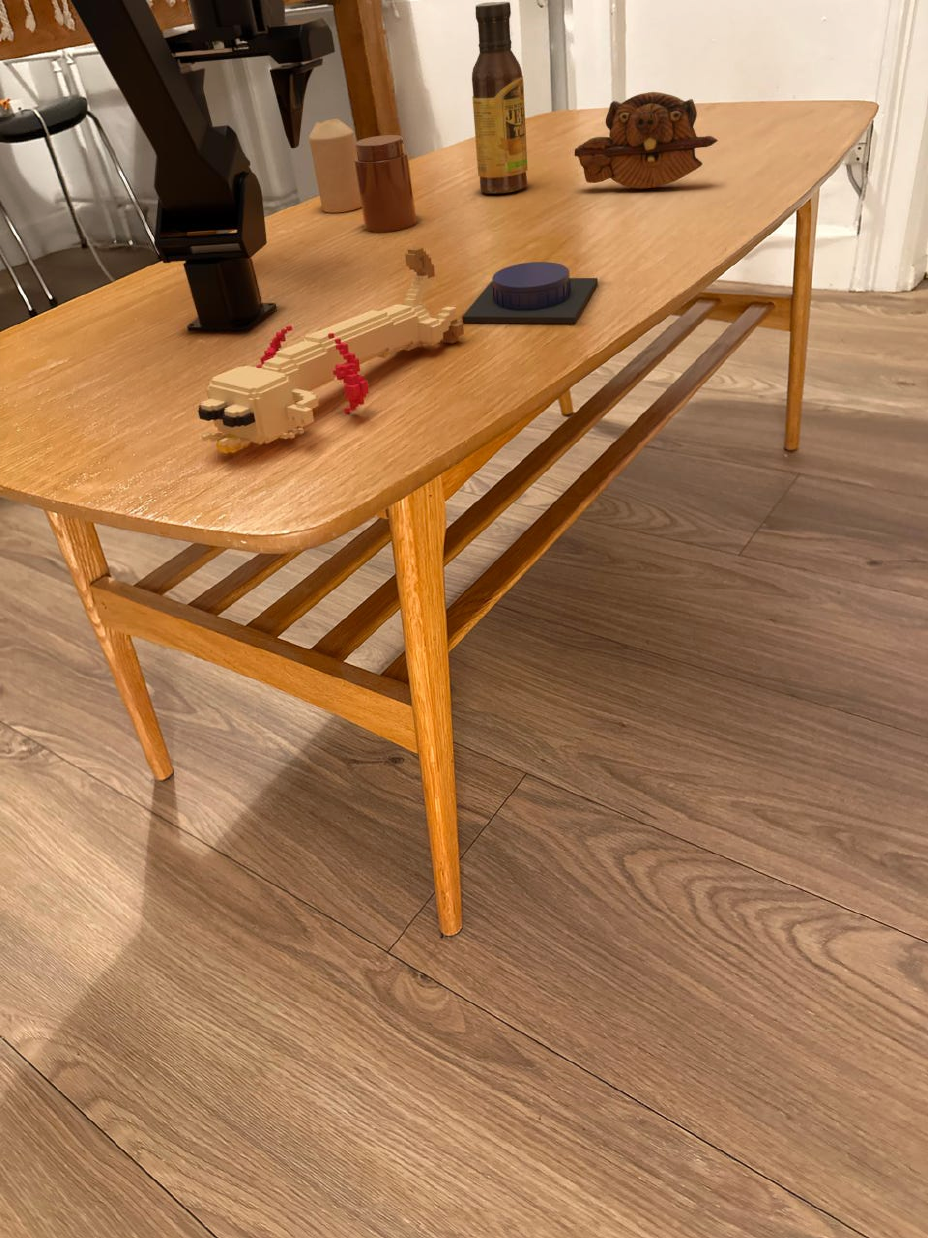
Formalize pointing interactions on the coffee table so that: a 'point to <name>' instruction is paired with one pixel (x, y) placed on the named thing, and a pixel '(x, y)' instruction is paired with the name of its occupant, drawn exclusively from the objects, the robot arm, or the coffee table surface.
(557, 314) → the mat
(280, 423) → the voxel animal figurine
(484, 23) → the sauce bottle
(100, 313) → the coffee table surface
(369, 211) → the jar
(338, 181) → the candle
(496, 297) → the lid
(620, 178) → the wooden carving
